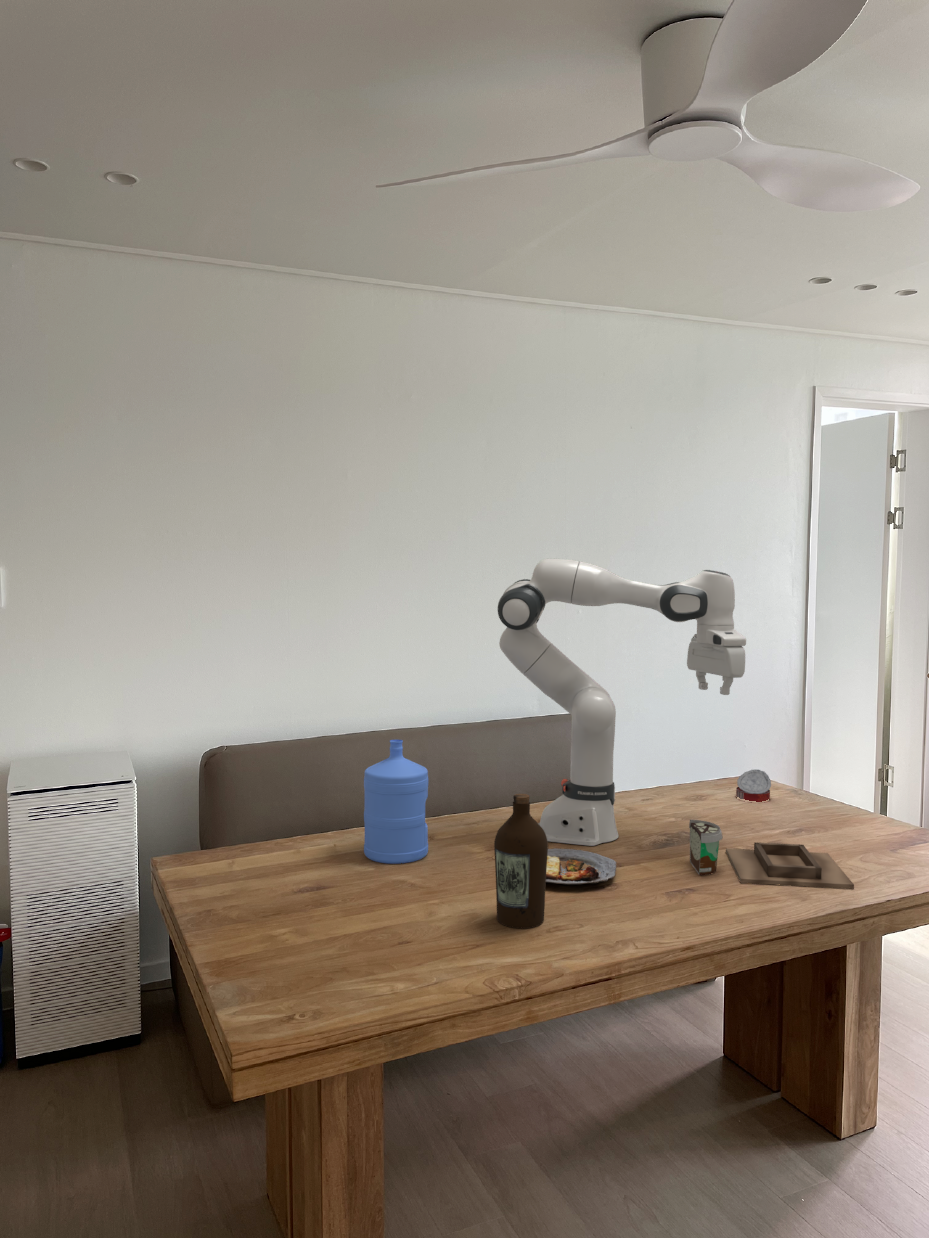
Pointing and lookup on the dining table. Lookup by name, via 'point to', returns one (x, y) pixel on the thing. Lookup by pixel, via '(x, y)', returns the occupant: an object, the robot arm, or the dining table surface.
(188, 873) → the dining table surface
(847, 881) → the caddy board
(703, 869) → the food container
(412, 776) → the water jug
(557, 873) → the food plate
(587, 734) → the robot arm
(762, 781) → the canned food
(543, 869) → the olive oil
